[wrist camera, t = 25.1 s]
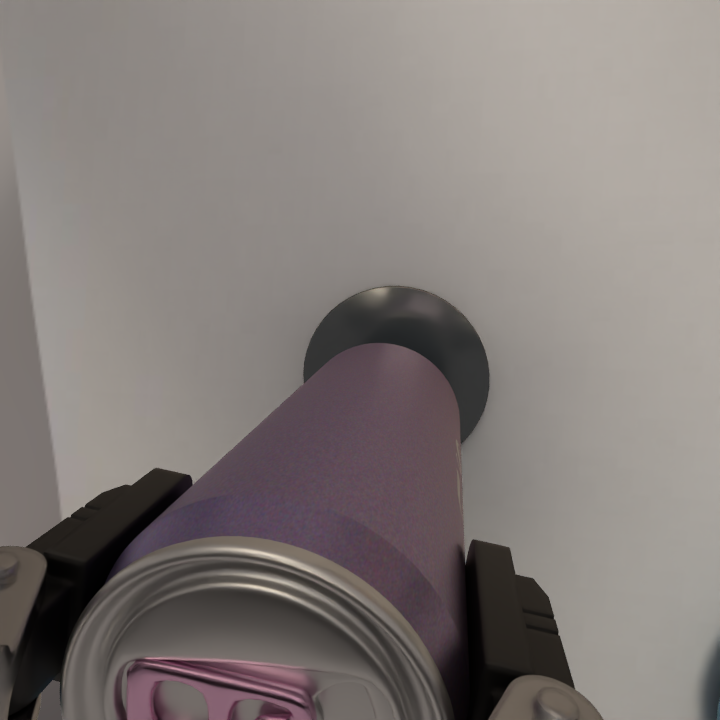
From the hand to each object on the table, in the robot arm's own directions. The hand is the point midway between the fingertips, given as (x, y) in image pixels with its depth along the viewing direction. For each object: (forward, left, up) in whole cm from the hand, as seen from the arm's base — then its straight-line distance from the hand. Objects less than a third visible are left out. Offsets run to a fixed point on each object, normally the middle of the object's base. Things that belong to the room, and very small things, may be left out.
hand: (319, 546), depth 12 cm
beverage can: (0, 0, -11) cm, 11 cm away
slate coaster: (0, 0, -16) cm, 16 cm away
